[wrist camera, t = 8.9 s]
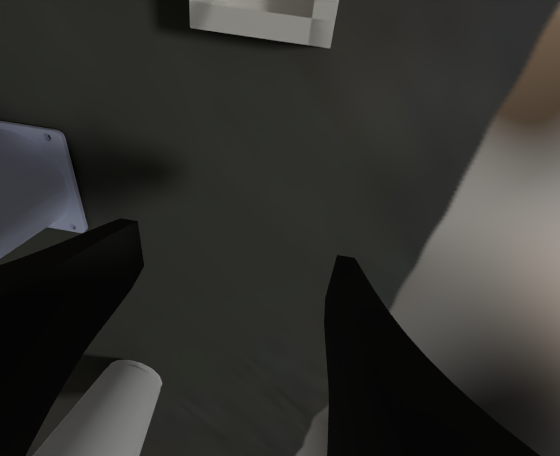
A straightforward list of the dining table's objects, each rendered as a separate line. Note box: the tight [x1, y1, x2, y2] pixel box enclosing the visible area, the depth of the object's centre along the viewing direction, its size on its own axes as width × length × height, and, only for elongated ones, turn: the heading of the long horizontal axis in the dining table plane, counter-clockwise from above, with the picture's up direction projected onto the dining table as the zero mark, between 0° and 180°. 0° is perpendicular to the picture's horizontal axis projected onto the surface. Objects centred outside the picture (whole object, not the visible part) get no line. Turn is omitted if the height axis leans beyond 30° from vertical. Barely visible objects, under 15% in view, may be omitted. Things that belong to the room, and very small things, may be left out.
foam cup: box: [33, 360, 162, 456], centre depth 30 cm, size 10×9×13 cm
